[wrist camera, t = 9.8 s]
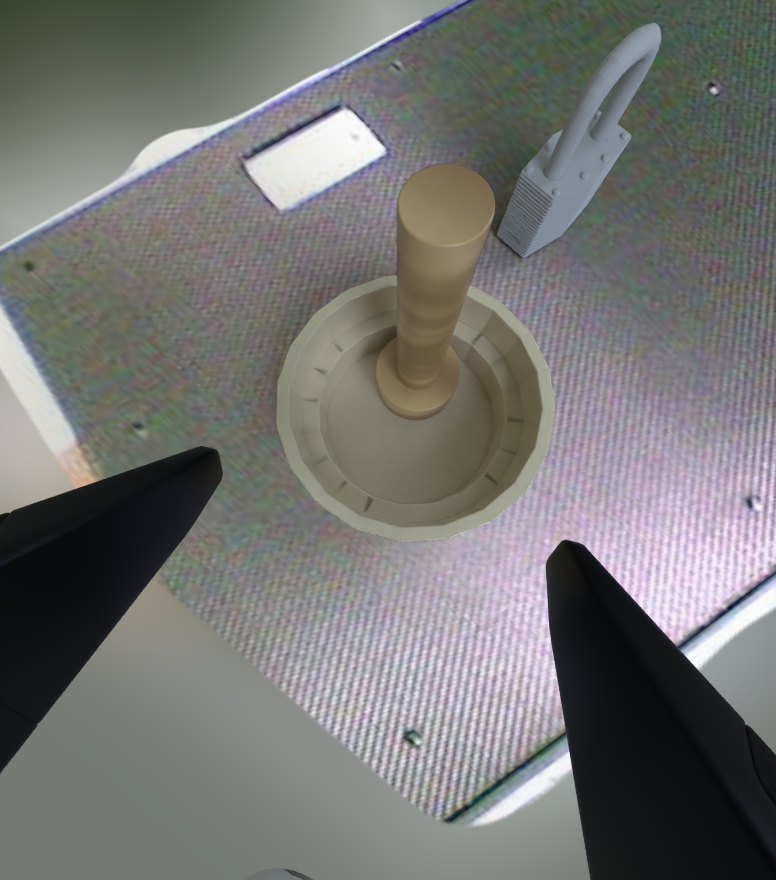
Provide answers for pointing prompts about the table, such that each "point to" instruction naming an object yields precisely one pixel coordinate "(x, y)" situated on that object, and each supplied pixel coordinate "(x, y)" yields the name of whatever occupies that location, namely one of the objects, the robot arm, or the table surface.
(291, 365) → the bowl
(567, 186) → the padlock
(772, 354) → the table surface
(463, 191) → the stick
